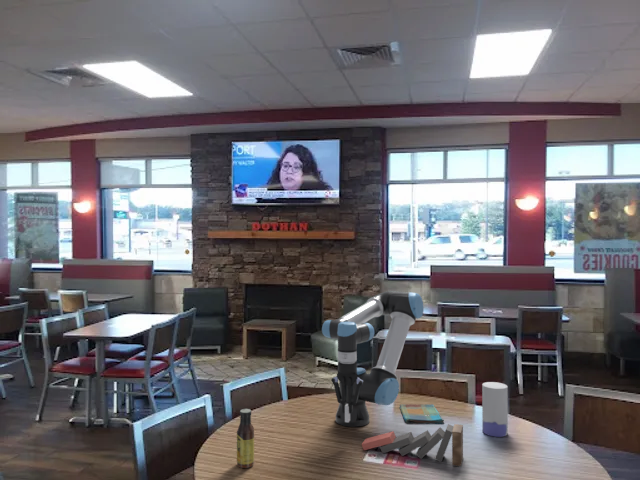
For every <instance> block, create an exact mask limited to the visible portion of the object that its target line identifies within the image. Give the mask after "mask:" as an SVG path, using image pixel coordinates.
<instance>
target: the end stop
mask: <svg viewBox="0 0 640 480" xmlns="http://www.w3.org/2000/svg"><path fill="white" fill-rule="evenodd" d="M453 426H454V428H453V431H452V435H451V442H452V443H451V447H452V448H451V452H452V455H451V461H452V462H451V463H452V464H451V465H452V466H456V467H462V464H463V458H464V424H456V423H454V425H453Z"/></svg>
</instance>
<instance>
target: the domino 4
mask: <svg viewBox="0 0 640 480" xmlns="http://www.w3.org/2000/svg"><path fill="white" fill-rule="evenodd" d="M453 428H454V425H451V424H449V423H447V426H446V428H445V430H444V431H445V434H444V436H443V438H442V439H441V440H440V441H441V442H440V444H439V447H438V449H437V452H436V455H435V458H434V460H436V461H438V462H440V463H442V462H443V459H444V456H445V453H446V451H447V448H448V446H449V443H450V441H451V439H452V431H453Z"/></svg>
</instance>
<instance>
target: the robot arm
mask: <svg viewBox="0 0 640 480" xmlns="http://www.w3.org/2000/svg"><path fill="white" fill-rule="evenodd" d="M423 315H424V301H423V298H422V296H421V295H420V294H419V293H418V292H412V291H408V292H406V291H395V290H394V291H393V290H389V291H384V292H381V293H378V294H375V295H374V296H372V297H369V298H367V300H366V302H365V303H363V304H362V305H360V306H358V307H357V308H355V309H353V310H351V311H349V312H348V313H345V314H344V315H342V316H341V317H339V318H337V319H335V320H332V319H329V320H328V319H327V320H325V321H324V322H323V323H322V327H321V333H322V335H323V336H324V338H329V339H331V340H332V339H334V340H337V373H336V376H334V377H332V378H331V383H332V384H333V388H334V392H335V396H336V400H337V403H338V407H337V410H336V413H335V422H336V423H337V424H338V425H340V426H344V427H351V428H352V427H354V428H356V427H362V426H366V425H368V424H369V423H370V413H369V411H368V408H367V405H366V402H367V403H371V404H376V405H378V406H389V405H392V404H393V403H394V402H395V401H396V399H397V397H398V394H399V392H400V389H399V388H400V384H399V380H398V377H397V375H396V371H397V367H398V365H399V361H400V359H401V355H402V352H403V349H404V345H405V342H406V339H407V336H408V334H409V331H410V328H411V326H412V325H415V323H416V319H417V320H418V319H421V318H422V317H423ZM382 316H390V318H391V322H390V325H389V328H388V331H387V334H386V337H385V339H384V343H383V346H382V348H381V351H380V354H379V357H378V360H377V363H376V366H374V367H371V370H370V372H369V373H367V371H366V368H363V367H358V363H357V360H358V358H357V357H358V355H357V354H358V352H357V350H358V349H357V346H358V344H362V343H367V342H369V341H371V340H372V339H373V338H374V336H375V328H374V327H373V325H372V324H371V323H369V322H368V321H371V320H372V319H373V318H379V317H382Z"/></svg>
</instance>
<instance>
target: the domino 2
mask: <svg viewBox="0 0 640 480" xmlns="http://www.w3.org/2000/svg"><path fill="white" fill-rule="evenodd" d="M429 431H430V430H428V429H427V430H425V431H424V432H422V433H419V434H418V435H416V436H413V437H414V439H413V441H412V443H411V444H409V445H406V446H403V447H400V448H398V452H399V453H400V455H401V457H404V456H405V455H408V454H409V453H411V452H413V451H415V450H417V449H419V447H420V446H422V445H424V444H426V443H427V442H429V440H430V438H431V436H432V434H431V433H430V432H429Z"/></svg>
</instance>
